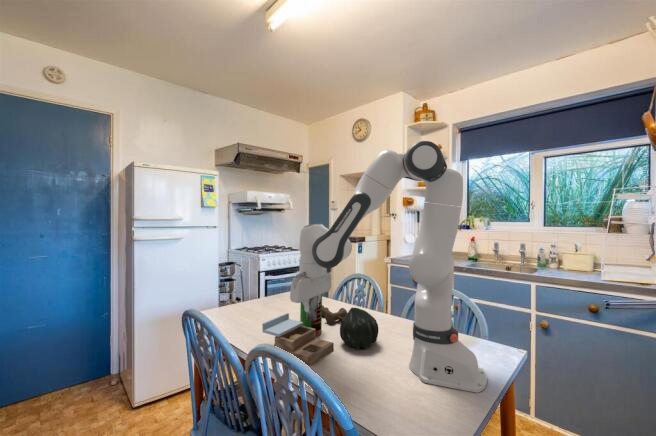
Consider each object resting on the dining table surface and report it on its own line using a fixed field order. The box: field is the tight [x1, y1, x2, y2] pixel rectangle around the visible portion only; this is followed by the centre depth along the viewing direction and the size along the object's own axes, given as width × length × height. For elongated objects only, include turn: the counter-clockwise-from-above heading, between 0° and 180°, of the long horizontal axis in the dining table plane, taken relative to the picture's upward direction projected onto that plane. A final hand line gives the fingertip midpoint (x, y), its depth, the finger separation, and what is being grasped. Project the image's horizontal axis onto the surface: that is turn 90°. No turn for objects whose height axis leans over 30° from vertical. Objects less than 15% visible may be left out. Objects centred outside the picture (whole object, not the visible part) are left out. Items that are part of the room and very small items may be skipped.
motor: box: [299, 294, 323, 338], centre depth 124 cm, size 10×9×20 cm
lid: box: [262, 312, 303, 337], centre depth 113 cm, size 8×14×3 cm, turn 148°
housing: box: [274, 326, 335, 367], centre depth 107 cm, size 16×14×6 cm
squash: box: [339, 307, 380, 350], centre depth 114 cm, size 14×15×15 cm
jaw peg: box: [307, 297, 316, 321], centre depth 104 cm, size 3×3×9 cm
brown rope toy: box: [322, 304, 348, 326], centre depth 141 cm, size 6×10×20 cm
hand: (311, 309), depth 104 cm, fingers closed on jaw peg, 3 cm apart
